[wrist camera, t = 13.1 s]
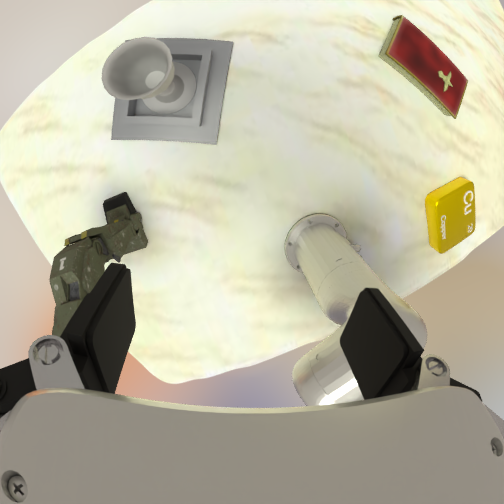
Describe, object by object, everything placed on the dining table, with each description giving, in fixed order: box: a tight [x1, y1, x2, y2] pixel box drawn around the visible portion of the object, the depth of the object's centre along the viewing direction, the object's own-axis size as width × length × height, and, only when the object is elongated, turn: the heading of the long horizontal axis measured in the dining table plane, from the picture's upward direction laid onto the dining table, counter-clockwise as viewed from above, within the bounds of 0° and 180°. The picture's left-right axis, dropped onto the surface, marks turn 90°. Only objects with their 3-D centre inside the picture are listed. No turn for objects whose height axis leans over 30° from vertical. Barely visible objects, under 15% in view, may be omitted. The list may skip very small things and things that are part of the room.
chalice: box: [102, 37, 184, 103], centre depth 27 cm, size 7×7×18 cm
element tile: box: [425, 177, 475, 254], centre depth 51 cm, size 15×15×5 cm
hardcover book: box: [379, 15, 468, 119], centre depth 35 cm, size 12×21×4 cm, turn 66°
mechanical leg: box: [50, 192, 148, 337], centre depth 34 cm, size 14×7×30 cm, turn 14°
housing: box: [111, 38, 233, 145], centre depth 34 cm, size 18×18×5 cm
